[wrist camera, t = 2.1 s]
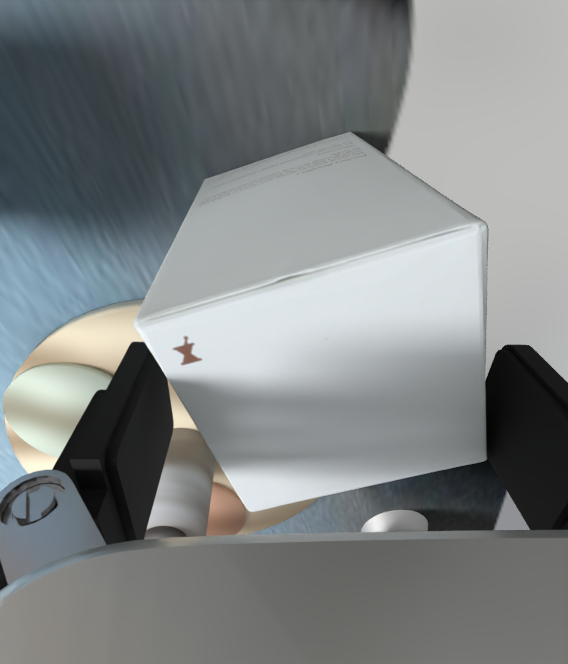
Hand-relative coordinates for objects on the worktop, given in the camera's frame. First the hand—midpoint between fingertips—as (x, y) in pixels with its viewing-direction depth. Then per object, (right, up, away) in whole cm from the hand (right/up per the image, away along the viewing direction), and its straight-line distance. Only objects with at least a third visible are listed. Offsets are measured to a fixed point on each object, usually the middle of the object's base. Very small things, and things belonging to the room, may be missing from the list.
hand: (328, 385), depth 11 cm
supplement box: (-1, +7, +9) cm, 11 cm away
